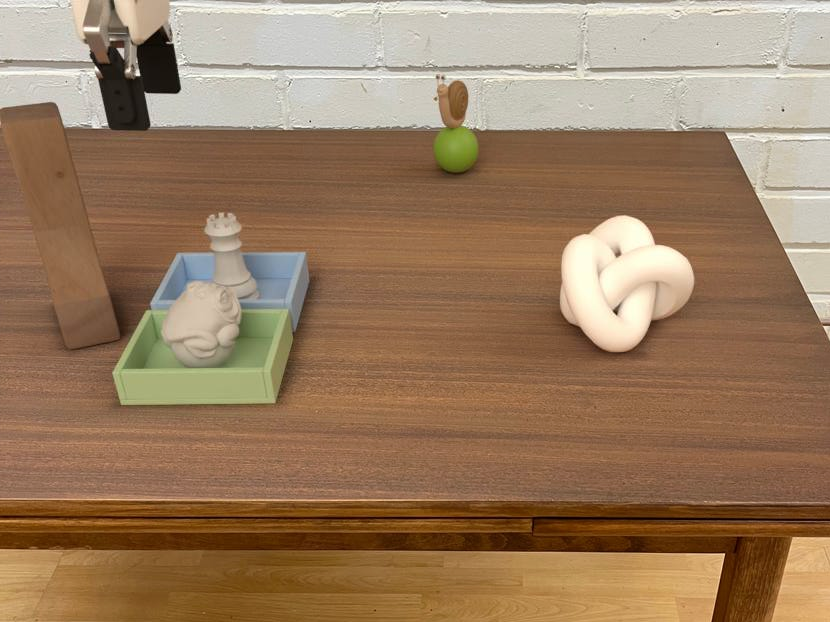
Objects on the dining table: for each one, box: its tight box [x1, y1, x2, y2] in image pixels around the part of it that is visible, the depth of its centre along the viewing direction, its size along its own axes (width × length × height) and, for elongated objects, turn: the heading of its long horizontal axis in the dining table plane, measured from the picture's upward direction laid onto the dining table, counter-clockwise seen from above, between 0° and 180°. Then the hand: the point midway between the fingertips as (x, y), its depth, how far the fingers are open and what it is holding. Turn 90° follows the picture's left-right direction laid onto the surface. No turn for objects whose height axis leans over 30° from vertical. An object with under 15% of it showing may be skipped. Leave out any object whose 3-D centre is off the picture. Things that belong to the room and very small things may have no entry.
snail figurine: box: [432, 73, 480, 174], centre depth 111 cm, size 5×6×12 cm
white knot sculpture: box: [559, 214, 695, 353], centre depth 82 cm, size 11×12×9 cm
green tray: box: [111, 309, 294, 406], centre depth 78 cm, size 12×10×3 cm
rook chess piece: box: [203, 212, 259, 299], centre depth 86 cm, size 4×4×8 cm
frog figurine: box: [161, 281, 241, 368], centre depth 77 cm, size 6×7×7 cm
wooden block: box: [0, 101, 121, 350], centre depth 80 cm, size 9×4×18 cm, turn 24°
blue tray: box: [149, 251, 310, 333], centre depth 87 cm, size 12×10×3 cm
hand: (147, 110), depth 79 cm, fingers open, 9 cm apart
